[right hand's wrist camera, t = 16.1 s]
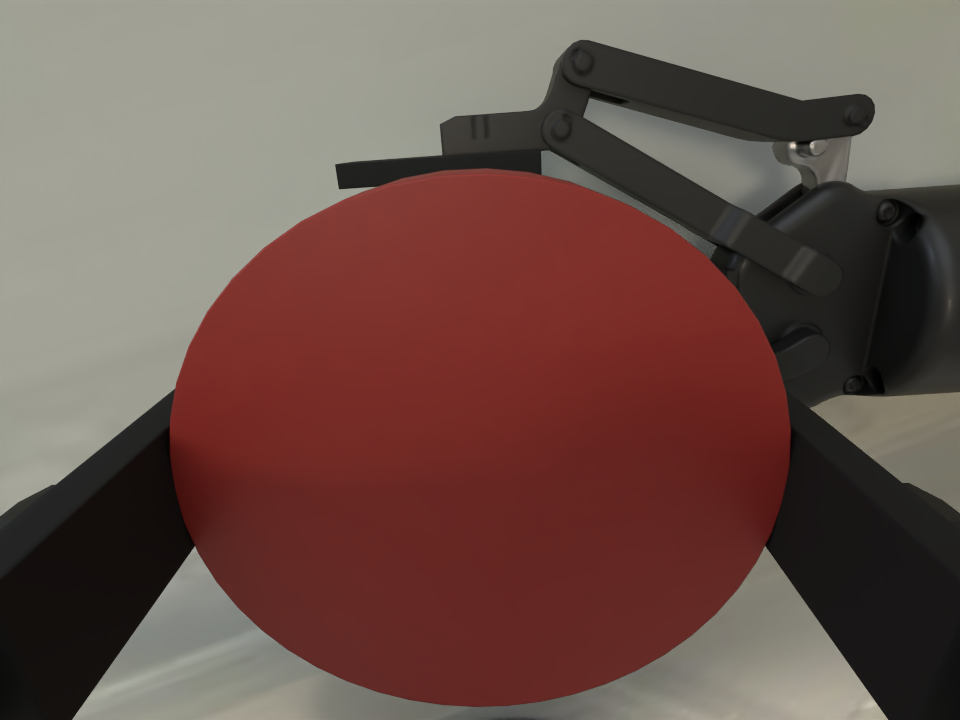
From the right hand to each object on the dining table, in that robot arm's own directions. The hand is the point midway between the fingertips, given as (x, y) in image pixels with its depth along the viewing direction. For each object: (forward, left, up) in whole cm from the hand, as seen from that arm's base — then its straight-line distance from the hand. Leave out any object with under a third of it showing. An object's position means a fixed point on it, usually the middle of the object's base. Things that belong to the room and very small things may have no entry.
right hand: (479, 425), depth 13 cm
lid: (0, 0, +2) cm, 2 cm away
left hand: (-2, +4, -8) cm, 9 cm away
